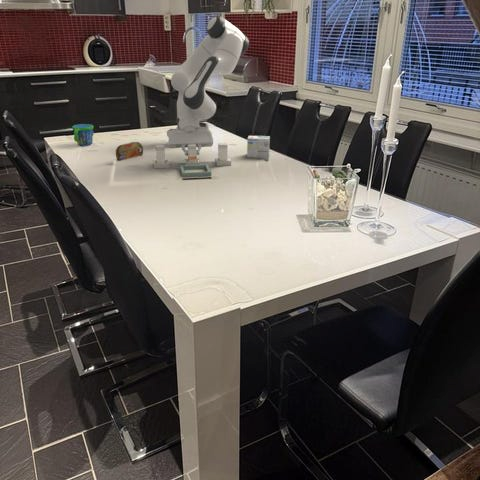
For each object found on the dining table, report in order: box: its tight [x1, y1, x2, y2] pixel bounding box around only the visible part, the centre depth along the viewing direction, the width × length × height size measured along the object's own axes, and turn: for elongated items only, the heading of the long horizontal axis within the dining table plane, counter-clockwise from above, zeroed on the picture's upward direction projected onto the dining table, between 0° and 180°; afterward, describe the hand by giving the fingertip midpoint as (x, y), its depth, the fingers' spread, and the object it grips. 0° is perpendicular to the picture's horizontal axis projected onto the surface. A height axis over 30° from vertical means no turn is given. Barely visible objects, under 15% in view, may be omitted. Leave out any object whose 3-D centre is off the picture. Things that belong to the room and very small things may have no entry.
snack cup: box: [71, 123, 95, 147], centre depth 248 cm, size 16×10×10 cm
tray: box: [179, 165, 212, 181], centre depth 200 cm, size 12×12×3 cm
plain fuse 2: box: [217, 142, 228, 161], centre depth 211 cm, size 4×4×9 cm
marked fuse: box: [187, 144, 198, 162], centre depth 209 cm, size 4×4×9 cm
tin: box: [115, 141, 144, 161], centre depth 220 cm, size 15×3×8 cm, turn 143°
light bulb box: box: [246, 135, 271, 161], centre depth 226 cm, size 11×7×11 cm, turn 84°
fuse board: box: [153, 156, 232, 170], centre depth 210 cm, size 9×34×4 cm, turn 102°
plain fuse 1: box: [155, 144, 166, 163], centre depth 206 cm, size 4×4×9 cm
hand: (192, 154), depth 208 cm, fingers closed on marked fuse, 4 cm apart
